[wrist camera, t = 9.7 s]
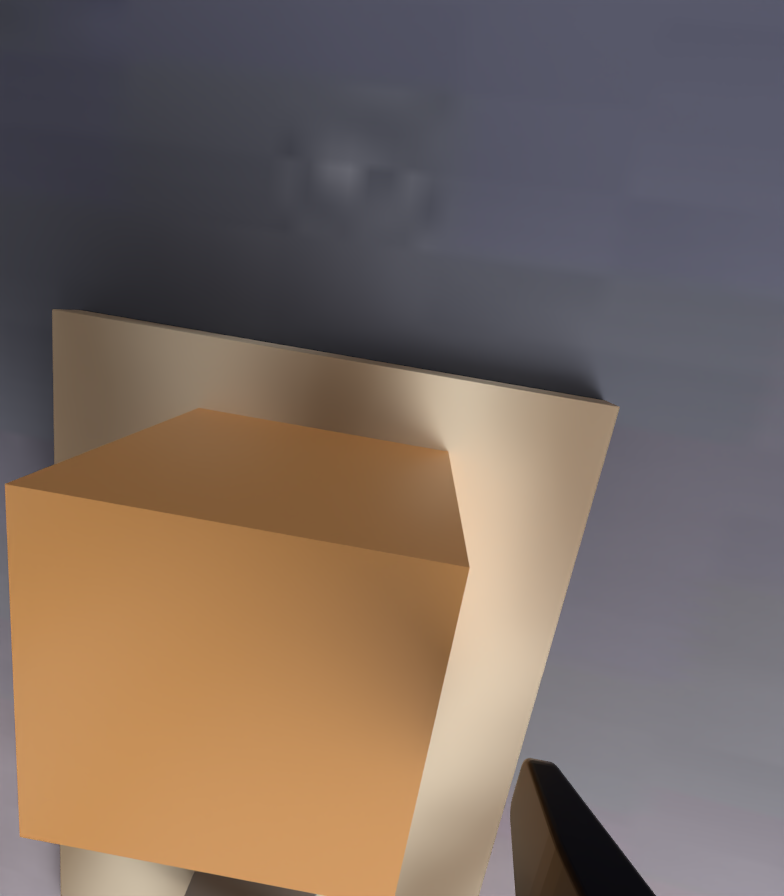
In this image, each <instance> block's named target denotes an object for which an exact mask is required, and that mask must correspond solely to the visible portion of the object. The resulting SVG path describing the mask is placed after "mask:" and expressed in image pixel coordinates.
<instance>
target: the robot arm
mask: <svg viewBox="0 0 784 896" xmlns="http://www.w3.org/2000/svg"><path fill="white" fill-rule="evenodd" d="M510 823H511V837H512V851H513V865H514V880H515V894H516V896H656V895H655V894H654V893H653V891H652V890H651V889H650V887H649V886H648V885H647V883H646V882H645V881H644V879H643V878H642V877H641V875H640V874H639V873H638V872H637V870H636V869H635V868H634V866H633V865H632V864H631V862H630V861H629V860H628V858H627V857H626V856H625V855H624V853H623V852H622V851H621V849H620V848H619V847H618V845H617V844H616V843H615V841H614V840H613V839H612V838H611V836H610V835H609V834H608V832H607V831H606V830H605V828H604V827H603V826H602V824H601V823H600V822H599V821H598V819H597V818H596V817H595V815H594V814H593V813H592V811H591V810H590V809H589V807H588V806H587V805H586V804H585V802H584V801H583V800H582V798H581V797H580V796H579V794H578V793H577V792H576V790H575V789H574V788H573V787H572V785H571V784H570V783H569V781H568V780H567V779H566V777H565V776H564V775H563V773H562V772H561V771H560V769H559V768H558V767H557V766H556V765H555V764H554V763H552V762H548V761H543V760H538V759H532V758H528V759H525V761H524V762H523V764H522V767H521V770H520V773H519V777H518V780H517V784H516V787H515V790H514V794H513V797H512V801H511V809H510Z"/></svg>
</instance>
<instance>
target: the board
mask: <svg viewBox="0 0 784 896" xmlns="http://www.w3.org/2000/svg"><path fill="white" fill-rule="evenodd" d="M52 334H53V402H54V465H55V464H57V463H60V462H62V461H65V460H67V459H70V458H72V457H75V456H78V455H80V454H83V453H85V452H88V451H90V450H93V449H95V448H98V447H100V446H103V445H105V444H108V443H111V442H113V441H116V440H118V439H121V438H123V437H126V436H128V435H131V434H133V433H136V432H139V431H141V430H144V429H146V428H149V427H151V426H154V425H156V424H159V423H161V422H164V421H167V420H169V419H172V418H174V417H177V416H179V415H182V414H184V413H187V412H189V411H192V410H194V409H197V408H203V409H208V410H214V411H220V412H226V413H231V414H237V415H243V416H248V417H254V418H260V419H265V420H271V421H277V422H283V423H288V424H294V425H300V426H305V427H311V428H317V429H322V430H328V431H334V432H340V433H345V434H351V435H357V436H362V437H368V438H374V439H379V440H385V441H391V442H396V443H402V444H408V445H414V446H419V447H425V448H431V449H436V450H442V451H448V452H449V458H450V463H451V469H452V474H453V480H454V485H455V490H456V496H457V501H458V507H459V512H460V517H461V523H462V528H463V534H464V539H465V545H466V550H467V555H468V561H469V566H470V569H469V573H468V577H467V582H466V586H465V591H464V595H463V599H462V604H461V608H460V613H459V617H458V621H457V626H456V630H455V634H454V639H453V643H452V648H451V652H450V656H449V661H448V665H447V670H446V674H445V678H444V683H443V687H442V691H441V696H440V700H439V705H438V709H437V713H436V718H435V722H434V726H433V731H432V735H431V740H430V744H429V748H428V753H427V757H426V762H425V766H424V770H423V775H422V779H421V783H420V788H419V792H418V797H417V801H416V805H415V810H414V814H413V818H412V823H411V827H410V832H409V836H408V840H407V845H406V849H405V854H404V858H403V862H402V867H401V871H400V875H399V880H398V884H397V889H396V893H395V896H479V893H480V889H481V886H482V882H483V879H484V875H485V872H486V868H487V865H488V862H489V858H490V855H491V851H492V848H493V844H494V841H495V837H496V834H497V830H498V827H499V823H500V820H501V816H502V813H503V810H504V806H505V803H506V799H507V796H508V792H509V789H510V785H511V782H512V778H513V775H514V771H515V768H516V765H517V761H518V758H519V754H520V751H521V747H522V744H523V740H524V737H525V733H526V730H527V726H528V723H529V719H530V716H531V713H532V709H533V706H534V702H535V699H536V695H537V692H538V688H539V685H540V681H541V678H542V674H543V671H544V667H545V664H546V661H547V657H548V654H549V650H550V647H551V643H552V640H553V636H554V633H555V629H556V626H557V622H558V619H559V616H560V612H561V609H562V605H563V602H564V598H565V595H566V591H567V588H568V584H569V581H570V577H571V574H572V570H573V567H574V564H575V560H576V557H577V553H578V550H579V546H580V543H581V539H582V536H583V532H584V529H585V525H586V522H587V518H588V515H589V512H590V508H591V505H592V501H593V498H594V494H595V491H596V487H597V484H598V480H599V477H600V473H601V470H602V467H603V463H604V460H605V456H606V453H607V449H608V446H609V442H610V439H611V435H612V432H613V428H614V425H615V421H616V418H617V415H618V411H619V408H620V407H618V406H616V405H614V404H612V403H609V402H607V401H605V400H599V399H594V398H588V397H582V396H576V395H570V394H564V393H559V392H553V391H547V390H541V389H535V388H530V387H524V386H518V385H512V384H506V383H501V382H495V381H489V380H483V379H477V378H472V377H466V376H460V375H454V374H448V373H443V372H437V371H431V370H425V369H419V368H414V367H408V366H402V365H396V364H390V363H385V362H379V361H373V360H367V359H361V358H356V357H350V356H344V355H338V354H332V353H326V352H321V351H315V350H309V349H303V348H297V347H292V346H286V345H280V344H274V343H268V342H263V341H257V340H251V339H245V338H239V337H234V336H228V335H222V334H216V333H210V332H205V331H199V330H193V329H187V328H181V327H176V326H170V325H164V324H158V323H152V322H147V321H141V320H135V319H129V318H123V317H117V316H112V315H106V314H100V313H94V312H88V311H83V310H62V309H52ZM60 879H61V896H324V895H319V894H313V893H308V892H303V891H298V890H293V889H288V888H282V887H277V886H272V885H267V884H262V883H257V882H251V881H246V880H241V879H236V878H231V877H225V876H220V875H215V874H210V873H205V872H200V871H194V870H189V869H184V868H179V867H174V866H169V865H163V864H158V863H153V862H148V861H143V860H137V859H132V858H127V857H122V856H117V855H112V854H106V853H101V852H96V851H91V850H86V849H81V848H75V847H70V846H65V845H60Z"/></svg>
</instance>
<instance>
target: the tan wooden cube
mask: <svg viewBox="0 0 784 896" xmlns="http://www.w3.org/2000/svg"><path fill="white" fill-rule="evenodd" d="M5 497H6V521H7V544H8V568H9V592H10V615H11V639H12V663H13V686H14V710H15V734H16V758H17V781H18V805H19V829H20V837H24V838H29V839H34V840H39V841H44V842H49V843H55V844H60V845H65V846H70V847H75V848H81V849H86V850H91V851H96V852H101V853H106V854H112V855H117V856H122V857H127V858H132V859H137V860H143V861H148V862H153V863H158V864H163V865H169V866H174V867H179V868H184V869H189V870H194V871H200V872H205V873H210V874H215V875H220V876H225V877H231V878H236V879H241V880H246V881H251V882H257V883H262V884H267V885H272V886H277V887H282V888H288V889H293V890H298V891H303V892H308V893H313V894H319V895H324V896H395V893H396V889H397V884H398V880H399V875H400V871H401V867H402V862H403V858H404V854H405V849H406V845H407V840H408V836H409V832H410V827H411V823H412V818H413V814H414V810H415V805H416V801H417V797H418V792H419V788H420V783H421V779H422V775H423V770H424V766H425V762H426V757H427V753H428V748H429V744H430V740H431V735H432V731H433V726H434V722H435V718H436V713H437V709H438V705H439V700H440V696H441V691H442V687H443V683H444V678H445V674H446V670H447V665H448V661H449V656H450V652H451V648H452V643H453V639H454V634H455V630H456V626H457V621H458V617H459V613H460V608H461V604H462V599H463V595H464V591H465V586H466V582H467V577H468V573H469V569H470V566H469V561H468V555H467V550H466V545H465V539H464V534H463V528H462V523H461V517H460V512H459V507H458V501H457V496H456V490H455V485H454V480H453V474H452V469H451V463H450V458H449V452H448V451H442V450H436V449H431V448H425V447H419V446H414V445H408V444H402V443H396V442H391V441H385V440H379V439H374V438H368V437H362V436H357V435H351V434H345V433H340V432H334V431H328V430H322V429H317V428H311V427H305V426H300V425H294V424H288V423H283V422H277V421H271V420H265V419H260V418H254V417H248V416H243V415H237V414H231V413H226V412H220V411H214V410H208V409H203V408H197V409H194V410H192V411H189V412H187V413H184V414H182V415H179V416H177V417H174V418H172V419H169V420H167V421H164V422H161V423H159V424H156V425H154V426H151V427H149V428H146V429H144V430H141V431H139V432H136V433H133V434H131V435H128V436H126V437H123V438H121V439H118V440H116V441H113V442H111V443H108V444H105V445H103V446H100V447H98V448H95V449H93V450H90V451H88V452H85V453H83V454H80V455H78V456H75V457H72V458H70V459H67V460H65V461H62V462H60V463H57V464H55V465H52V466H50V467H47V468H44V469H42V470H39V471H37V472H34V473H32V474H29V475H27V476H24V477H22V478H19V479H17V480H14V481H11V482H9V483H6V484H5Z"/></svg>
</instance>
